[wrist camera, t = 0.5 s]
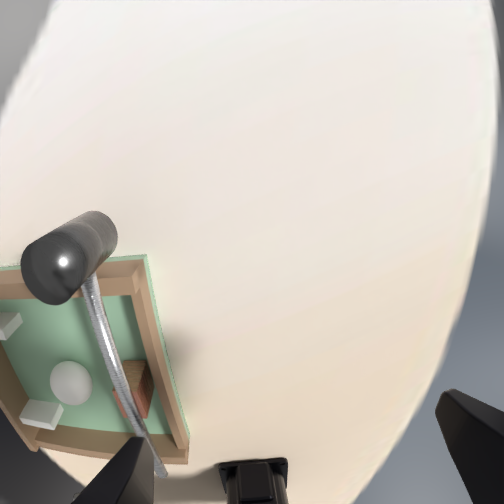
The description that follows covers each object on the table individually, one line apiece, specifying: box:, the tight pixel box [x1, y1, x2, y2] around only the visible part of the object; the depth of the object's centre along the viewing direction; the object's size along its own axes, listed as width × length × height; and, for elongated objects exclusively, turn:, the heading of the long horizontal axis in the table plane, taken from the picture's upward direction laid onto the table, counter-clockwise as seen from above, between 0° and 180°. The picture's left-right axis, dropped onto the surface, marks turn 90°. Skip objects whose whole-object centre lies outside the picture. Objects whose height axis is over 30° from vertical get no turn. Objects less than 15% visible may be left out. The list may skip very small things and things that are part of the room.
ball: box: [50, 361, 93, 405], centre depth 18 cm, size 3×3×3 cm
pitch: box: [0, 254, 190, 464], centre depth 18 cm, size 16×15×4 cm
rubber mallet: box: [21, 211, 168, 478], centre depth 16 cm, size 20×3×6 cm, turn 3°
